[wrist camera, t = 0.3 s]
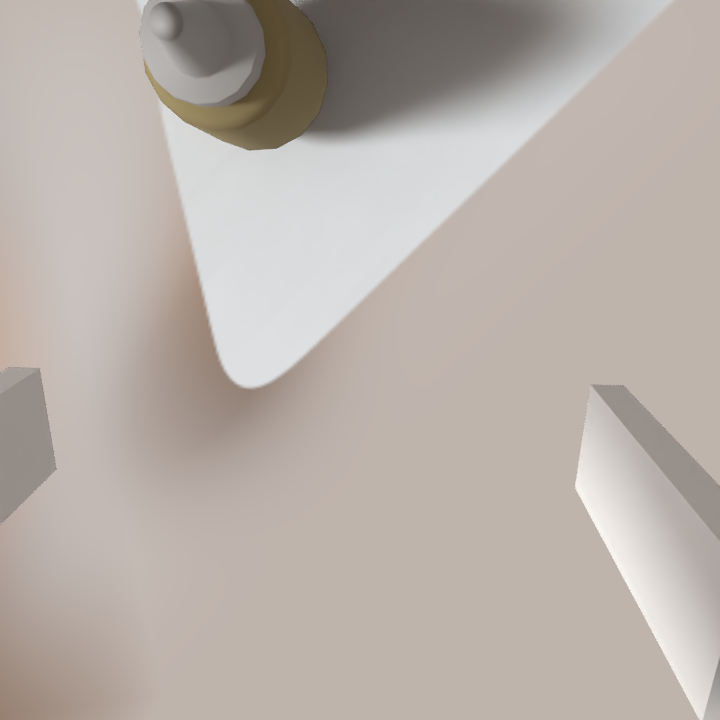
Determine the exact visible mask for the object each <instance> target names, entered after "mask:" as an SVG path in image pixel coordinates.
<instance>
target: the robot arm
mask: <svg viewBox="0 0 720 720" xmlns="http://www.w3.org/2000/svg"><path fill="white" fill-rule="evenodd" d="M55 470H56V463H55V457H54V451H53V445H52V439H51V433H50V428H49V422H48V415H47V409H46V403H45V397H44V391H43V385H42V379H41V373H40V368H18V367H8V368H6V369H5V370H3V371H2V372H0V525H1V524H2V523H3V522H4V521H5V520H6V519H7V518H8V517H9V516H10V515H11V514H12V513H13V512H14V511H15V510H16V509H17V508H18V507H19V506H20V505H21V504H22V503H23V502H24V501H25V500H26V499H27V498H28V497H29V496H30V495H31V494H32V493H33V492H34V491H35V490H36V489H37V488H38V487H39V486H40V485H41V484H42V483H43V482H44V481H45V480H46V479H47V478H48V477H49V476H50V475H51V474H52V473H53V472H54V471H55ZM575 488H576V490H577V492H578V494H579V496H580V498H581V500H582V501H583V503H584V505H585V507H586V509H587V511H588V513H589V514H590V516H591V518H592V520H593V522H594V524H595V525H596V527H597V529H598V531H599V533H600V535H601V537H602V539H603V541H604V542H605V544H606V546H607V548H608V550H609V551H610V554H611V555H612V557H613V559H614V561H615V563H616V565H617V567H618V568H619V570H620V572H621V574H622V576H623V578H624V580H625V582H626V584H627V585H628V587H629V589H630V591H631V593H632V595H633V597H634V598H635V600H636V602H637V604H638V606H639V608H640V610H641V611H642V613H643V615H644V617H645V619H646V621H647V623H648V625H649V626H650V628H651V630H652V632H653V634H654V636H655V638H656V640H657V641H658V643H659V645H660V647H661V649H662V651H663V653H664V654H665V656H666V658H667V660H668V662H669V664H670V666H671V667H672V669H673V671H674V673H675V675H676V677H677V679H678V681H679V682H680V684H681V686H682V688H683V690H684V692H685V694H686V695H687V697H688V699H689V701H690V703H691V705H692V707H693V708H694V710H695V712H696V714H697V716H698V718H699V720H720V486H719V485H718V484H717V483H716V482H715V480H714V479H713V478H712V477H711V476H710V475H709V474H708V473H707V472H706V471H705V470H704V469H703V468H702V467H701V466H700V465H699V464H698V463H697V462H696V461H695V460H694V458H692V457H691V456H690V454H689V453H688V452H687V451H686V450H685V449H684V448H683V447H682V446H681V445H680V444H679V443H678V442H677V441H676V440H675V439H674V438H673V437H672V435H671V434H670V433H668V431H667V430H666V429H665V428H664V427H663V426H662V425H661V424H660V423H659V422H658V421H657V420H656V419H655V418H654V417H653V416H652V415H651V413H650V412H649V411H648V410H647V409H646V408H645V407H644V406H643V405H642V404H641V403H640V402H639V401H638V400H637V399H636V398H635V397H634V396H633V395H632V394H631V393H630V392H629V390H628V389H627V388H626V387H624V386H622V385H590V391H589V398H588V405H587V411H586V418H585V425H584V431H583V438H582V446H581V451H580V458H579V465H578V471H577V479H576V485H575Z"/></svg>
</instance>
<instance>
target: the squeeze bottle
mask: <svg viewBox="0 0 720 720" xmlns="http://www.w3.org/2000/svg"><path fill="white" fill-rule="evenodd" d="M139 34H140V41H141V47H142V53H143V59H144V65H145V72H146V74H147V76H148V78H149V80H150V82H151V83H152V85H153V87H154V89H155V91H156V93H157V94H158V96H159V98H160V100H161V102H163V103H164V104H165V105H166V106H167V107H168V108H169V109H171V110H172V111H173V112H174V113H175V114H176V115H177V116H179V117H180V118H181V119H182V120H183V121H184V122H186V123H188V124H190V125H192V126H194V127H196V128H198V129H200V130H202V131H204V132H206V133H208V134H210V135H212V136H214V137H216V138H218V139H220V140H222V141H224V142H227V143H230V144H233V145H236V146H238V147H241V148H244V149H247V150H262V149H276V148H279V147H280V146H282V145H284V144H286V143H288V142H290V141H292V140H294V139H295V138H297V137H299V136H301V135H302V134H303V133H304V131H305V130H306V129H307V128H308V126H309V125H310V124H311V122H312V121H313V120H314V119H315V117H316V116H317V115H318V114H319V112H320V109H321V105H322V102H323V98H324V95H325V92H326V88H327V85H328V77H327V63H326V51H325V49H324V47H323V45H322V43H321V40H320V38H319V36H318V34H317V32H316V30H315V27H314V25H313V23H312V22H311V21H310V20H309V19H308V18H307V17H306V16H305V15H304V14H303V13H302V12H301V11H300V10H299V9H298V8H297V7H296V6H295V5H294V4H293V3H292V2H291V1H290V0H149V1H148V2H147V4H146V5H145V7H144V10H143V16H142V21H141V26H140V31H139Z"/></svg>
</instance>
